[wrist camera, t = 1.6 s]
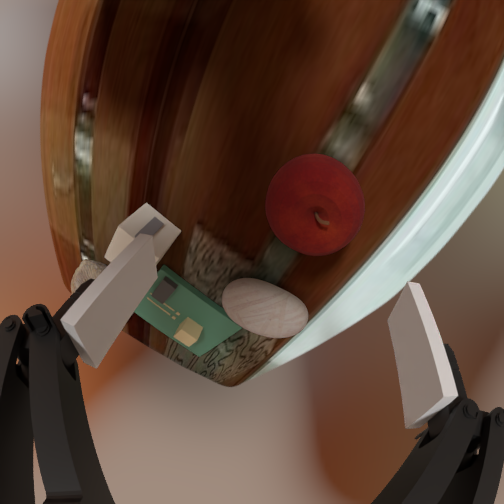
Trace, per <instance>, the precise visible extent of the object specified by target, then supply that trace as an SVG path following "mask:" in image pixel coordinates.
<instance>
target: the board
mask: <svg viewBox="0 0 504 504" xmlns="http://www.w3.org/2000/svg"><path fill="white" fill-rule="evenodd" d="M157 276H158V278H157V279H156V281H155V282H154V284H153V285H152V286H151V288H150V289H149V291H148V292H147V293H146V295H145V296H144V298H143V299H142V301H141V302H140V303H139V305H138V306H137V308H136V309H135V311H134V312H135V313H136V314H138V315H139V316H140V317H142V318H143V319H144V320H146V321H147V322H149V323H150V324H151V325H153V326H154V327H155V328H157V329H158V330H160V331H161V332H163V333H164V334H165V335H167V336H168V337H170V338H171V339H173V340H174V341H176V342H177V343H179V344H180V345H182V346H183V347H185V348H186V349H188V350H189V351H191V352H192V353H194V354H196V355H197V356H199V357H200V356H202V355H203V354H205V353H206V352H208V351H209V350H211V349H212V348H214V347H215V346H217V345H218V344H220V343H221V342H223V341H224V340H226V339H227V338H229V337H230V336H232V335H233V334H234V333H236V332H237V331H239V330H240V329H242V327H241V326H239V325H238V324H236V323H235V322H234V321H233V320H232V319H231V318H230V317H229V316H228V315H227V313H226V312H225V310H224V309H223V308H222V307H220V306H219V305H218V304H216V303H215V302H213V301H212V300H211V299H209V298H208V297H206V296H205V295H204V294H202V293H201V292H200V291H198V290H197V289H196V288H194V287H193V286H192V285H190V284H189V283H188V282H186V281H185V280H184V279H182V278H181V277H180V276H178V275H177V274H176V273H175V272H173V271H172V270H171V269H169V268H168V267H167V266H165V265H163V266H162V267H161V269H160V270H159V271H158V273H157Z"/></svg>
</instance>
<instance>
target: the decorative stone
mask: <svg viewBox="0 0 504 504" xmlns="http://www.w3.org/2000/svg"><path fill="white" fill-rule="evenodd" d="M222 305H223V308H224V310H225V312H226V313H227V315H228V316H229V317H230V318H231V319H232V320H233V321H234V322H235V323H236V324H238V325H239V326H241V327H243V328H244V329H246V330H248V331H251V332H253V333H256V334H259V335H262V336H266V337H271V338H286V337H290V336H293V335H295V334H297V333H299V332H300V331H301V330H303V328H304V327H305V326H306V324H307V321H308V311H307V308H306V306H305V305H304V303H303V302H302V301H301V300H300V299H298V298H297V297H296V296H294V295H293V294H291V293H289V292H287V291H285V290H283V289H281V288H279V287H277V286H275V285H273V284H271V283H268V282H266V281H263V280H259V279H255V278H241V279H237V280H234V281H232V282H231V283H229V284H228V285H227V286H226V287H225V289H224V291H223V294H222Z"/></svg>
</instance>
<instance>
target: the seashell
mask: <svg viewBox="0 0 504 504" xmlns="http://www.w3.org/2000/svg"><path fill="white" fill-rule="evenodd" d="M106 267H107V266H106V264H103V263H101V262H96V261H92V260H87V259H85V260H83V262H81V264H80V266H79V267H78V268H77V269H76V271H75V273H74V275H73V278H72V282H71V290H72V294H73V293H75V291H76V290H77V289H78V287H79V286H80V285H81V284H82V283H84V282H86V281H87V280H89V279H96V278H97V277H98V276H99V275H100V274H101V273H102V272H103V270H104V269H105V268H106Z"/></svg>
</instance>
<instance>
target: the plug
mask: <svg viewBox="0 0 504 504" xmlns="http://www.w3.org/2000/svg"><path fill="white" fill-rule="evenodd" d="M180 232H181V230H180V229H178V228H177V227H176V226H175V225H173V224H172V223H171V222H170V221H169V220H167V219H166V218H165V217H164V216H162V215H161V214H160V213H159V212H157V211H156V210H155V209H154V208H152V207H151V206H150V205H149V204H148V203H146V204H144V205H143V206H142V207H141V208H139V209H138V210H137V211H136V212H134V213H133V214H132V215H131V216H129V217H128V218H127V219H126V220H125V221H123V222H122V223H121V224H120V225H119V226H118V228H117V230H116V232H115V234H114V236H113V239H112V241H111V243H110V245H109V247H108V250H107V252H106V254H105V258H106V259H107V260H108V261H110V262H112V261H113V260H114V259H115V258H116V257H117V256H118V255H119V254H120V253H121V252H122V251H123V250H124V249H125V248H126V247H127V246H128V245H129V244H130V243H131V242H132V241H133V240H134V239H135V238H136V237H137V236H138V235H139V234H140V233H141V234H147V235H152V236H153V245H154V253H155V261H156V265H157V264H158V262H159V261H160V260H161V259H162V257H163V256H164V254H165V253H166V252H167V250H168V249H169V247H170V246H171V245H172V243H173V242H174V241H175V239H176V238H177V237H178V235H179V234H180Z"/></svg>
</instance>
